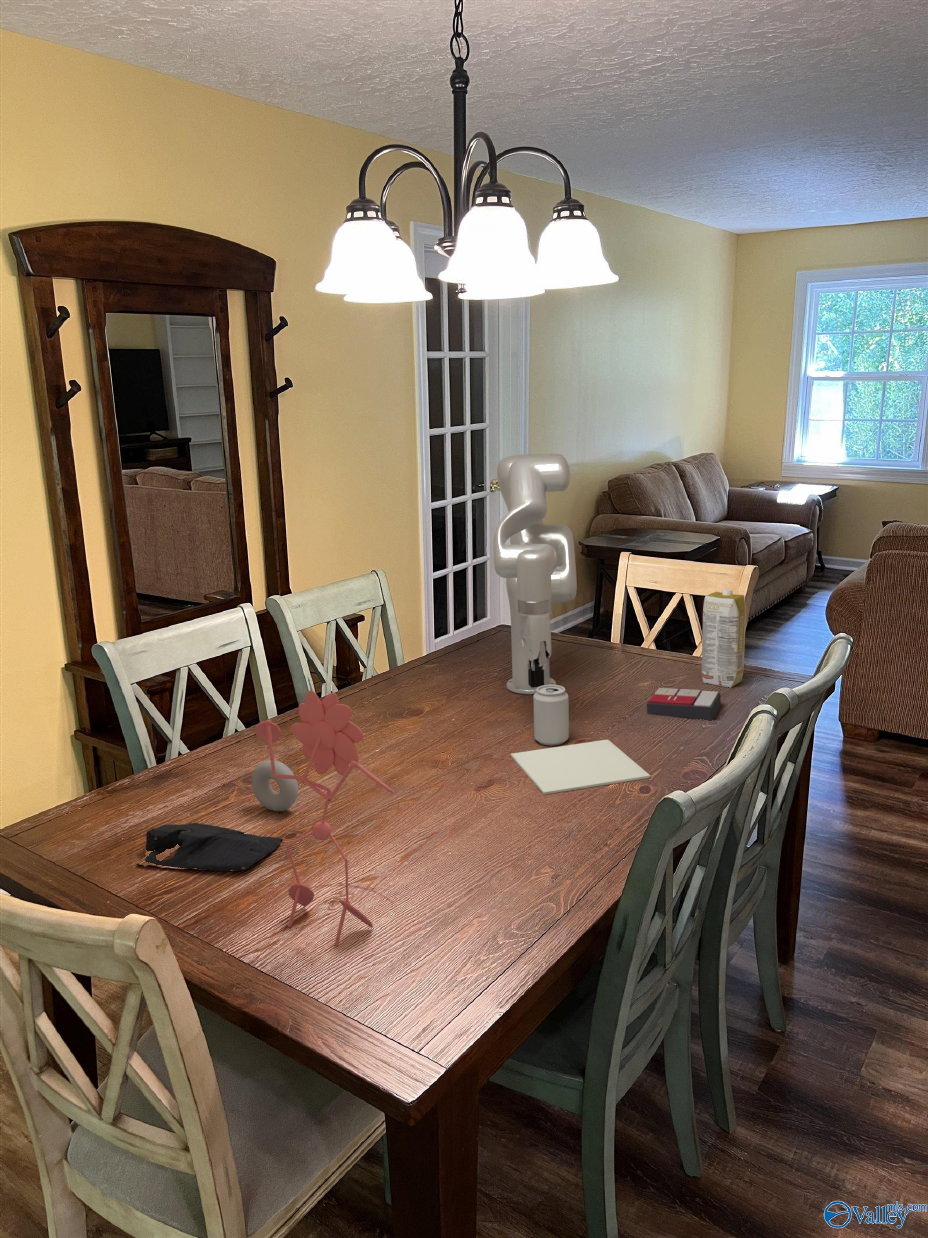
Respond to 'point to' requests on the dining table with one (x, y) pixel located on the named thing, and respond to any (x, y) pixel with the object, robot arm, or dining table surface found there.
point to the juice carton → (723, 638)
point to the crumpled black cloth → (208, 847)
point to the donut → (265, 790)
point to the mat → (578, 766)
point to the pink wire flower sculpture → (326, 744)
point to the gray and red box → (684, 703)
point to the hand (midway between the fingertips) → (536, 685)
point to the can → (551, 715)
